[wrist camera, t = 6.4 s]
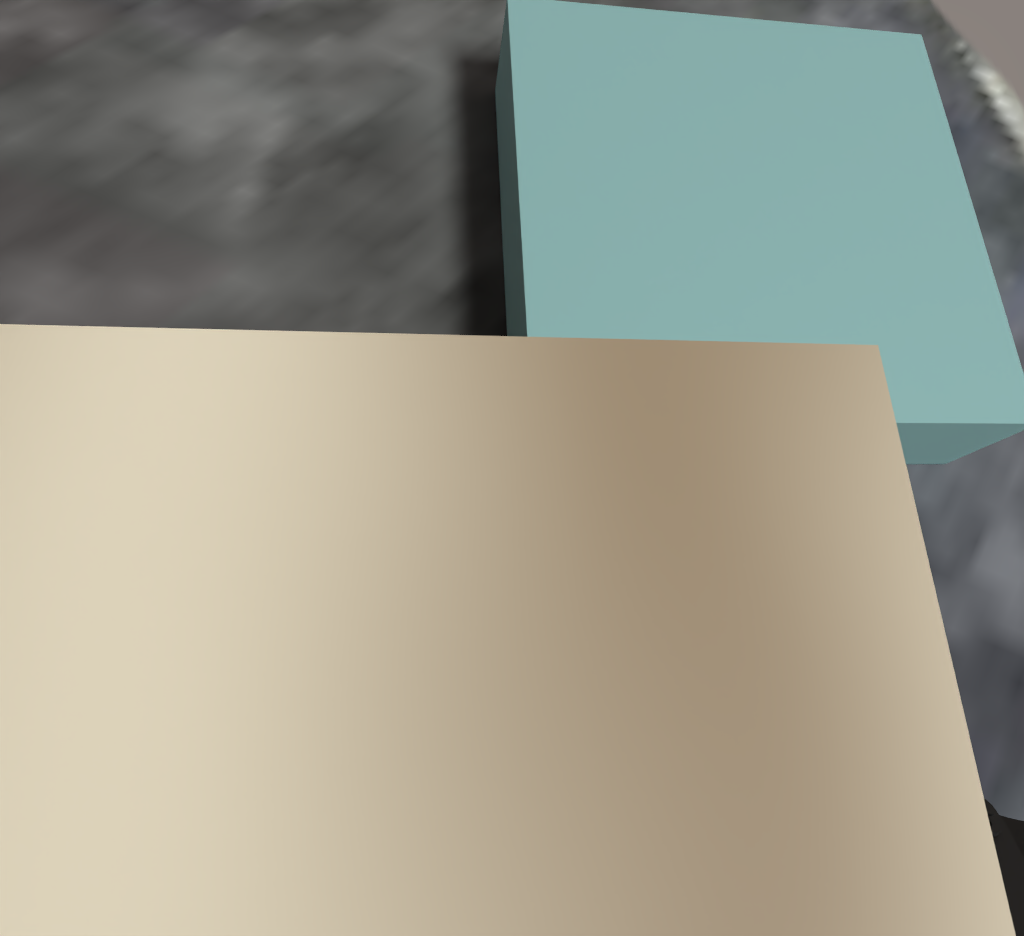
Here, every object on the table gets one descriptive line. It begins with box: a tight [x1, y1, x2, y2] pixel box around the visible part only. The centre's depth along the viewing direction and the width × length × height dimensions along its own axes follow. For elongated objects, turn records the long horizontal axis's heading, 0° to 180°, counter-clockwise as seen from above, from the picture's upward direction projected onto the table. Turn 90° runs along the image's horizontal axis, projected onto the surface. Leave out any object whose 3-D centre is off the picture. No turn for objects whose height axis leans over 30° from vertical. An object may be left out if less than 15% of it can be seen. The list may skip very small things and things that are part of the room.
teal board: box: [495, 0, 1024, 464], centre depth 18 cm, size 12×12×3 cm
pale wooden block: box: [0, 324, 1016, 936], centre depth 9 cm, size 6×6×12 cm
